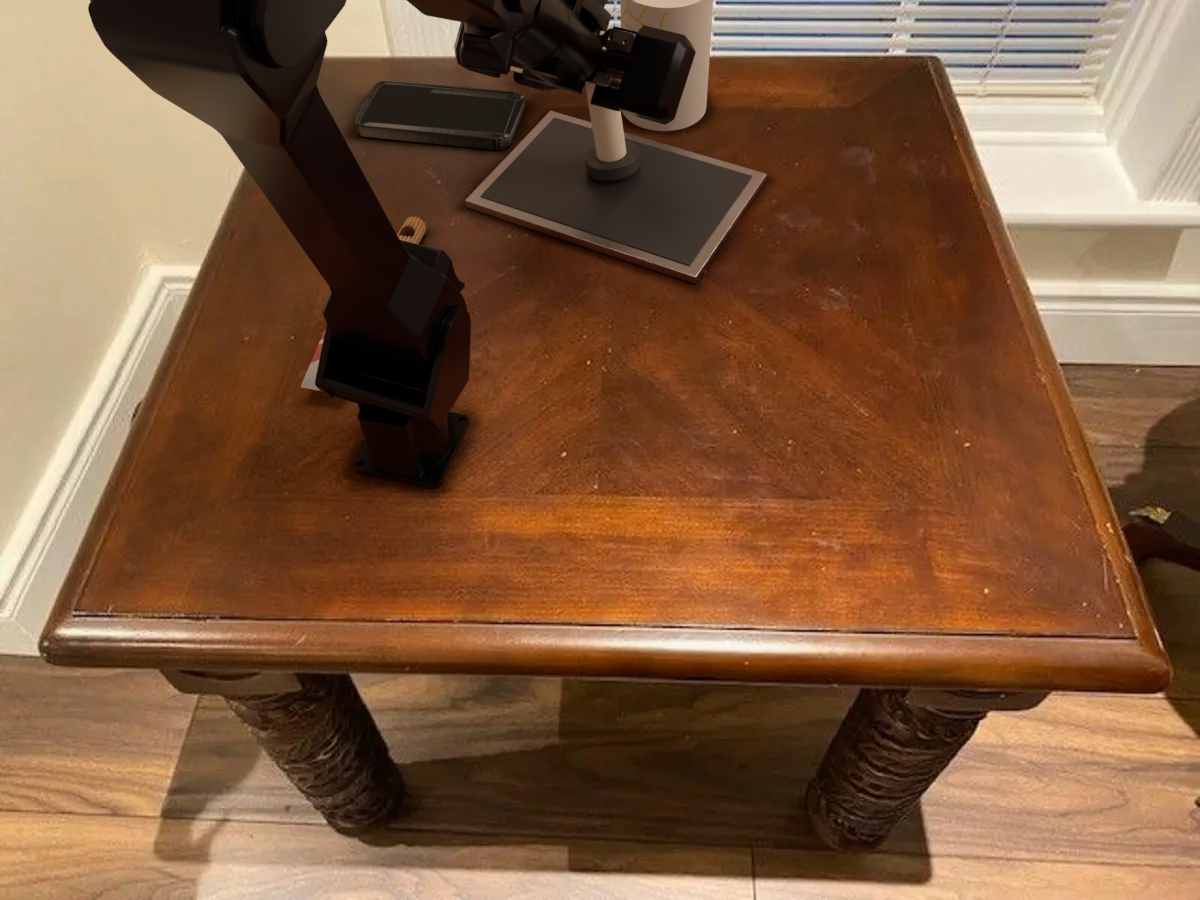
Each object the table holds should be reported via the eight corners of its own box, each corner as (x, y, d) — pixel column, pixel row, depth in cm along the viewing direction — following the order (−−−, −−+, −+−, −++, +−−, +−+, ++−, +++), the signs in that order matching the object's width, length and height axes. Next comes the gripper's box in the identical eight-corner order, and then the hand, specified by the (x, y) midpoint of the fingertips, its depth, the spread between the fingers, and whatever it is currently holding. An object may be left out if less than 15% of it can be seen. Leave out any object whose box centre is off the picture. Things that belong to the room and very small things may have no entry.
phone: (507, 140, 94) (350, 125, 96) (508, 151, 95) (353, 135, 97) (527, 92, 99) (377, 78, 101) (528, 102, 100) (380, 88, 102)
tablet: (766, 181, 91) (767, 172, 91) (695, 284, 83) (696, 276, 83) (550, 117, 98) (550, 109, 97) (465, 207, 90) (464, 199, 89)
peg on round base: (651, 159, 91) (632, 6, 81) (617, 186, 89) (593, 32, 79) (610, 146, 94) (586, -3, 84) (575, 173, 91) (547, 22, 82)
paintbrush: (288, 371, 74) (393, 208, 87) (297, 398, 76) (398, 235, 89) (337, 380, 73) (436, 214, 86) (345, 407, 75) (441, 241, 88)
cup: (608, 93, 100) (606, -29, 91) (685, 75, 102) (691, -47, 93) (640, 139, 96) (641, 15, 86) (720, 119, 97) (729, -4, 88)
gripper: (689, -70, 68) (742, 9, 83) (451, -120, 74) (540, -38, 88) (636, 99, 70) (698, 147, 85) (409, 37, 76) (503, 92, 90)
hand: (608, 82), depth 87 cm, fingers closed on peg on round base, 3 cm apart
